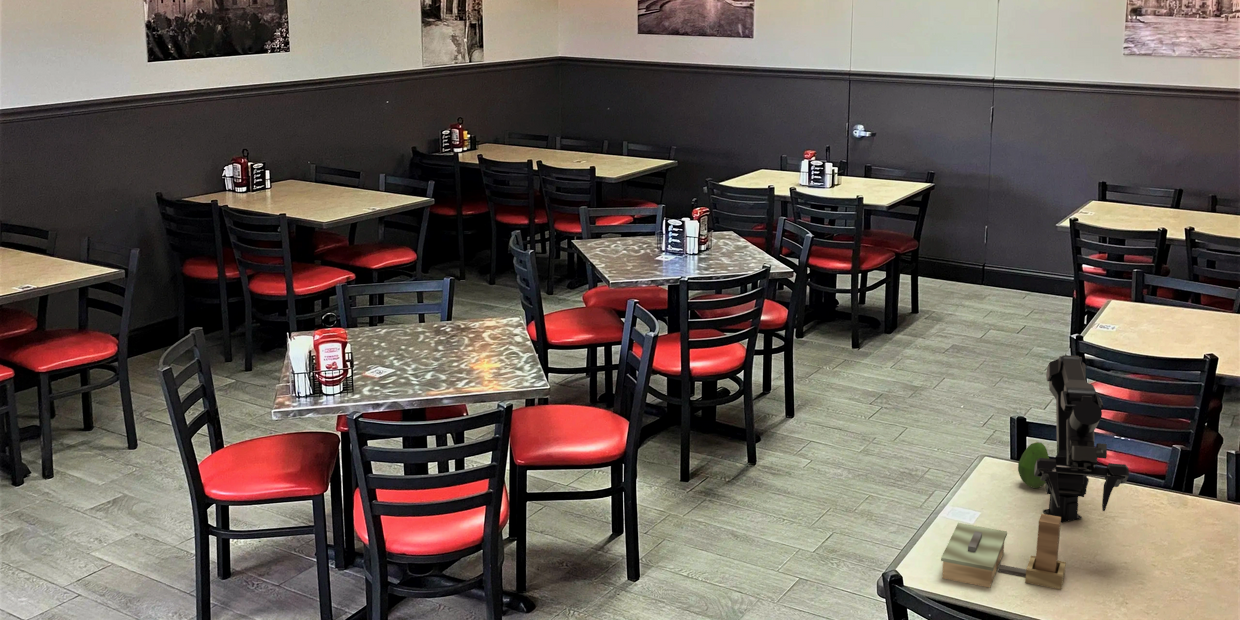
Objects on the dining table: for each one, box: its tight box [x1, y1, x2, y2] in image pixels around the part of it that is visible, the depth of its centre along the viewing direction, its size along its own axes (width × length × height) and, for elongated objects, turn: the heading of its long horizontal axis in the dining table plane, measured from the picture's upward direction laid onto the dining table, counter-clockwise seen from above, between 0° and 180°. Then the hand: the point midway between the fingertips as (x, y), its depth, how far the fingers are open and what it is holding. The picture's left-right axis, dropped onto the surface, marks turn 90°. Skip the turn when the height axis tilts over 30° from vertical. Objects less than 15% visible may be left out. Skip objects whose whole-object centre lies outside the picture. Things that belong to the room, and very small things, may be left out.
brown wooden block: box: [1035, 513, 1062, 573], centre depth 244 cm, size 4×4×14 cm
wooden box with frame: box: [940, 522, 1067, 590], centre depth 248 cm, size 19×24×6 cm
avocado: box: [1017, 441, 1050, 489], centre depth 290 cm, size 8×8×12 cm
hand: (1081, 508), depth 246 cm, fingers open, 9 cm apart
